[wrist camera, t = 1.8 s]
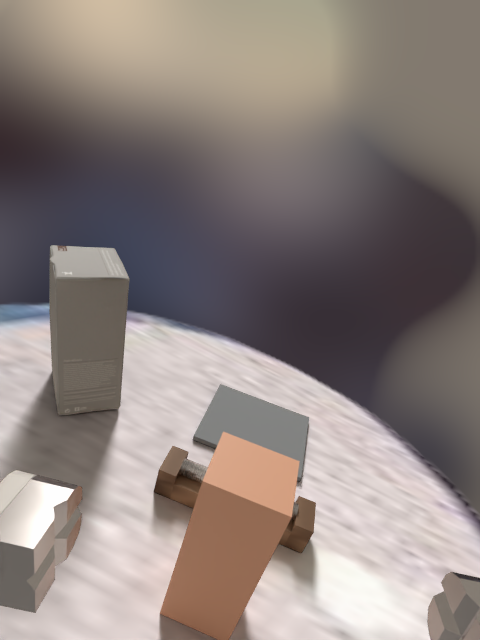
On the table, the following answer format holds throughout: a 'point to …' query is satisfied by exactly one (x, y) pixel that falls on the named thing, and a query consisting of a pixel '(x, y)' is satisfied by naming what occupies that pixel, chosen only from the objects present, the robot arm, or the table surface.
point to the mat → (254, 424)
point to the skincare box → (87, 327)
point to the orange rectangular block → (231, 535)
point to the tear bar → (185, 481)
